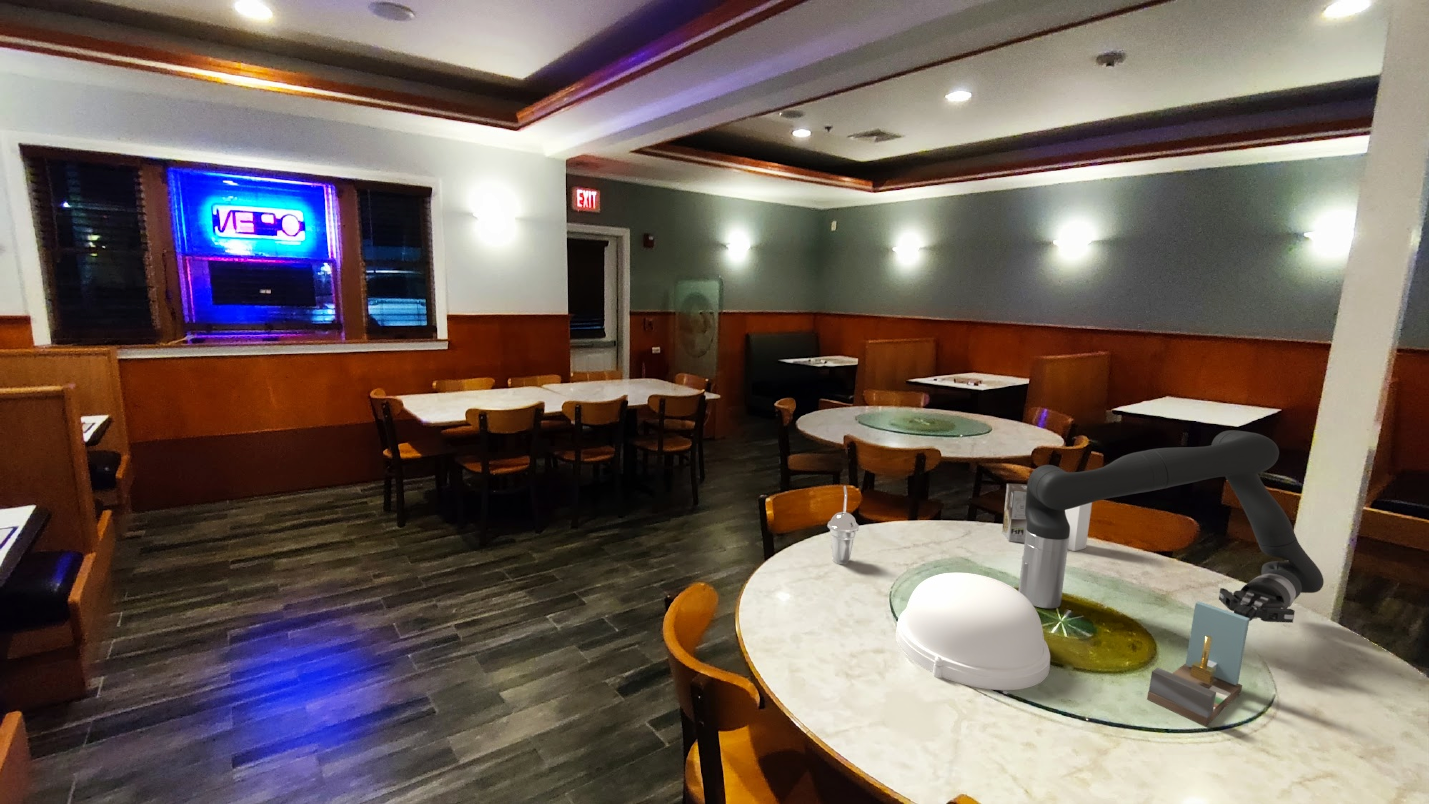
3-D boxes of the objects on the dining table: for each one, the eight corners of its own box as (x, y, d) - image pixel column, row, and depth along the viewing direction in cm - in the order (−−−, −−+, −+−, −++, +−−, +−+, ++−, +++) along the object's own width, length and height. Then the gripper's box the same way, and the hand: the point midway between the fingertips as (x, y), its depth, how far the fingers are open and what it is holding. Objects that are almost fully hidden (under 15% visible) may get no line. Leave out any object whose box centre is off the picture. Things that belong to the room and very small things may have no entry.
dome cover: (935, 599, 156) (941, 544, 154) (1070, 648, 135) (1079, 586, 133) (866, 647, 133) (871, 583, 131) (1016, 715, 113) (1024, 641, 110)
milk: (1086, 548, 192) (1096, 477, 188) (1074, 551, 189) (1084, 479, 185) (1066, 541, 197) (1076, 472, 194) (1054, 544, 194) (1063, 474, 191)
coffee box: (1031, 543, 194) (1037, 492, 192) (1008, 541, 195) (1014, 490, 193) (1023, 533, 203) (1028, 484, 200) (1001, 531, 204) (1006, 482, 202)
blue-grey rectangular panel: (1188, 662, 127) (1198, 601, 125) (1238, 682, 121) (1249, 618, 119) (1179, 669, 125) (1189, 606, 122) (1229, 690, 118) (1241, 624, 116)
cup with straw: (820, 561, 175) (824, 491, 172) (833, 551, 183) (838, 484, 180) (849, 570, 171) (854, 497, 167) (862, 559, 178) (867, 490, 175)
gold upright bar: (1194, 672, 122) (1201, 631, 121) (1213, 680, 120) (1220, 638, 118) (1190, 676, 121) (1196, 634, 120) (1209, 684, 119) (1216, 641, 117)
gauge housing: (1185, 669, 128) (1189, 644, 127) (1241, 692, 121) (1245, 665, 120) (1147, 699, 118) (1151, 671, 117) (1205, 726, 111) (1210, 697, 110)
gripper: (1233, 567, 143) (1204, 586, 133) (1311, 589, 133) (1286, 611, 123) (1228, 599, 144) (1199, 620, 135) (1305, 623, 134) (1280, 648, 124)
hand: (1240, 616), depth 129 cm, fingers closed
